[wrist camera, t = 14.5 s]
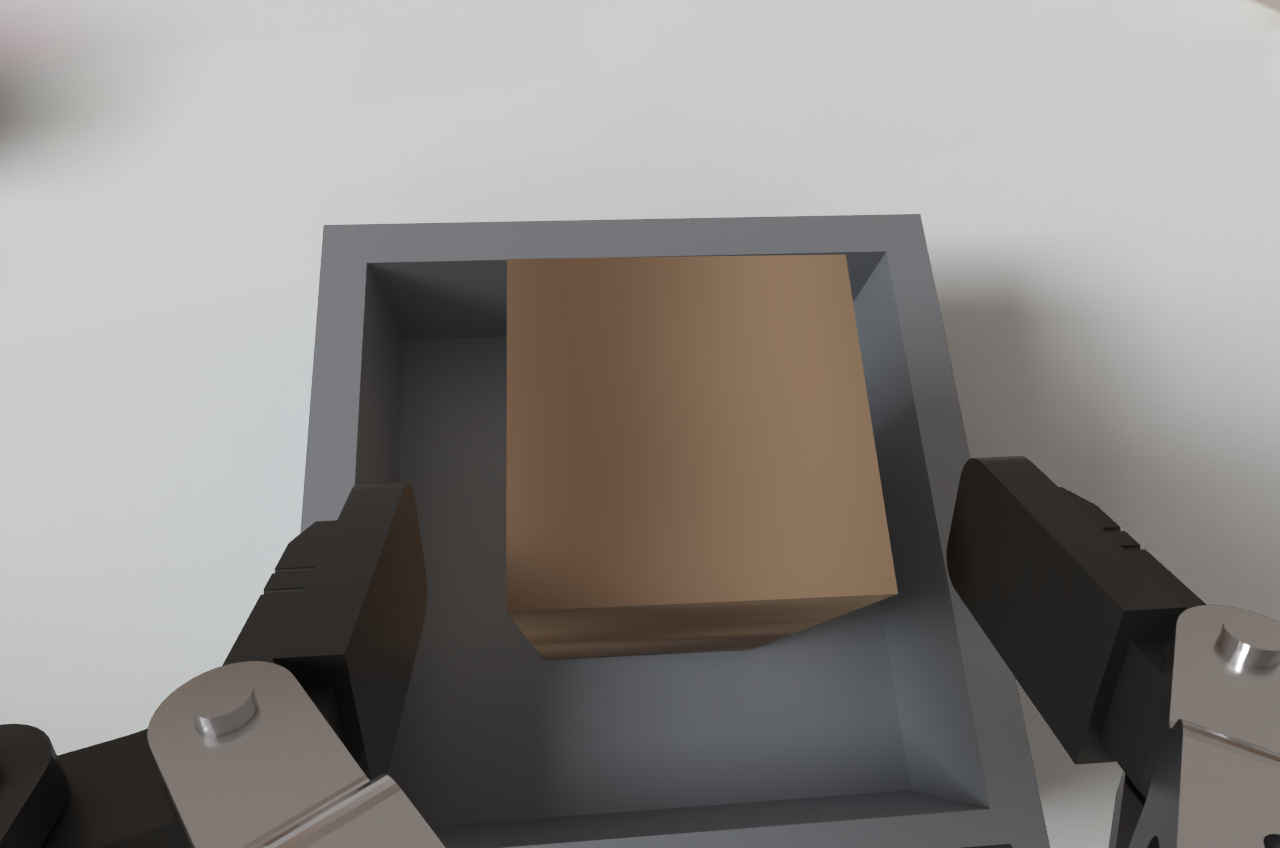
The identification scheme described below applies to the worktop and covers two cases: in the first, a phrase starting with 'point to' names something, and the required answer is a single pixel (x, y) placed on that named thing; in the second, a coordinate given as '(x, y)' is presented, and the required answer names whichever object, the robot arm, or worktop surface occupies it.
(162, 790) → the robot arm
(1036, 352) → the worktop surface
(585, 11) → the worktop surface
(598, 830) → the box
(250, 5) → the worktop surface
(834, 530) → the brown wooden block
